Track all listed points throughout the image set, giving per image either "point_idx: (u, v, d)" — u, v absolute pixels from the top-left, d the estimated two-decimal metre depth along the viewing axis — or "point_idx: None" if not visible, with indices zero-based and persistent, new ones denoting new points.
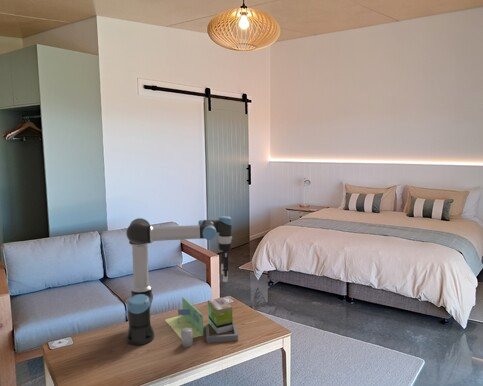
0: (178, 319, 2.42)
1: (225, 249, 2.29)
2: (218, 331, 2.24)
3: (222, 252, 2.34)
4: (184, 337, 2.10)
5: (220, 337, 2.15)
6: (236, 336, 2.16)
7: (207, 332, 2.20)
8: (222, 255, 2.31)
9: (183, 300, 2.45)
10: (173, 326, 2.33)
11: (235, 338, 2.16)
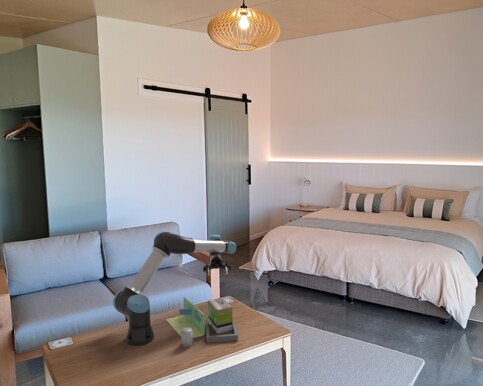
0: (180, 319, 2.43)
1: None
2: (218, 331, 2.24)
3: (215, 262, 2.57)
4: (184, 337, 2.10)
5: (220, 337, 2.15)
6: (236, 336, 2.16)
7: (207, 332, 2.20)
8: (220, 262, 2.57)
9: (184, 300, 2.46)
10: (174, 326, 2.34)
11: (235, 338, 2.16)
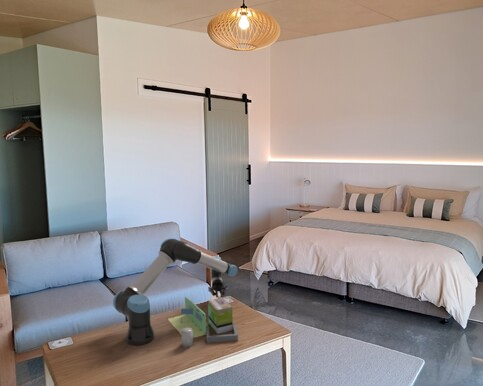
0: (181, 318, 2.43)
1: None
2: (218, 331, 2.24)
3: None
4: (184, 337, 2.10)
5: (220, 337, 2.15)
6: (236, 336, 2.16)
7: (207, 332, 2.20)
8: (220, 286, 2.59)
9: (186, 299, 2.46)
10: (176, 325, 2.34)
11: (235, 338, 2.16)
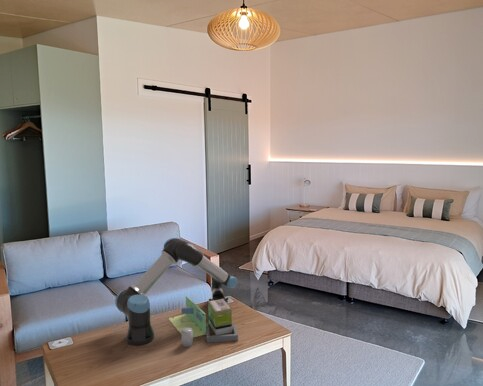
0: (182, 318, 2.44)
1: None
2: (217, 333, 2.22)
3: (216, 297, 2.55)
4: (184, 337, 2.10)
5: (220, 337, 2.15)
6: (236, 336, 2.16)
7: (207, 332, 2.20)
8: (221, 297, 2.53)
9: (186, 299, 2.47)
10: (176, 325, 2.35)
11: (235, 338, 2.16)
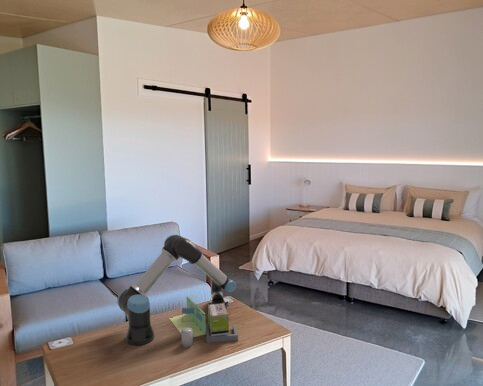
0: (182, 317, 2.44)
1: None
2: None
3: (216, 301, 2.49)
4: (184, 337, 2.10)
5: (220, 337, 2.15)
6: (236, 336, 2.16)
7: (207, 332, 2.20)
8: (221, 301, 2.47)
9: (187, 299, 2.47)
10: (177, 324, 2.35)
11: (235, 338, 2.16)
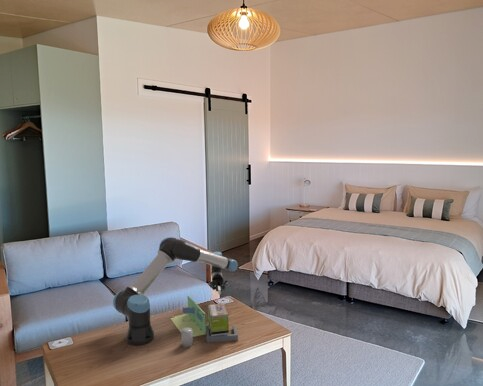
0: (183, 317, 2.45)
1: None
2: None
3: None
4: (184, 337, 2.10)
5: (220, 337, 2.15)
6: (236, 336, 2.16)
7: (207, 332, 2.20)
8: (220, 280, 2.58)
9: (188, 299, 2.48)
10: (177, 324, 2.36)
11: (235, 338, 2.16)
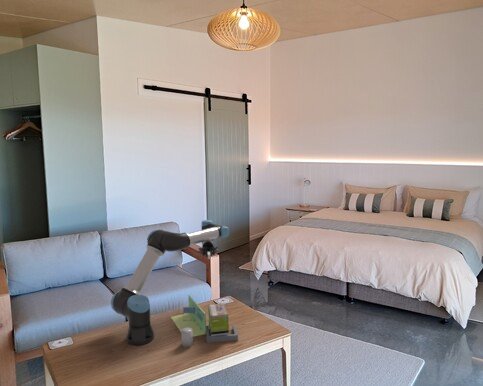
0: (184, 317, 2.45)
1: None
2: None
3: None
4: (184, 337, 2.10)
5: (220, 337, 2.15)
6: (236, 336, 2.16)
7: (207, 332, 2.20)
8: (211, 247, 2.57)
9: (189, 298, 2.48)
10: (178, 324, 2.36)
11: (235, 338, 2.16)
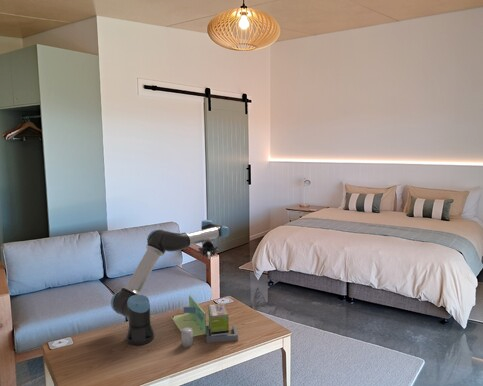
0: (184, 317, 2.45)
1: None
2: None
3: None
4: (184, 337, 2.10)
5: (220, 337, 2.15)
6: (236, 336, 2.16)
7: (207, 332, 2.20)
8: (211, 247, 2.57)
9: (189, 298, 2.48)
10: (178, 323, 2.37)
11: (235, 338, 2.16)
